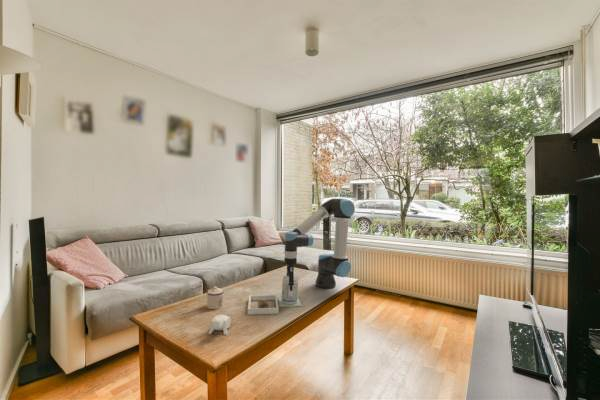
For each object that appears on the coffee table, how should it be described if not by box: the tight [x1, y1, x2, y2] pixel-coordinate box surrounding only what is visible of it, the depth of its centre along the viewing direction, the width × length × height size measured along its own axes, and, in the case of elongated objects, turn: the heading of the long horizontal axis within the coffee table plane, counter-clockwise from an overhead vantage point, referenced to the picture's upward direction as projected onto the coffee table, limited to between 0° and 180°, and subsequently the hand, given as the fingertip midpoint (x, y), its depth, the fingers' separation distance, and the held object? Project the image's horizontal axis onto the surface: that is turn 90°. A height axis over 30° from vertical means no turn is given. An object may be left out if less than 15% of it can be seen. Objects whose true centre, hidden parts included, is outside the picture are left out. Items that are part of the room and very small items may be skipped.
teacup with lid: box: [206, 285, 224, 310], centre depth 161 cm, size 12×9×12 cm
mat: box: [277, 296, 302, 308], centre depth 169 cm, size 13×13×1 cm
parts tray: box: [247, 294, 280, 316], centre depth 162 cm, size 17×21×3 cm
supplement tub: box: [281, 275, 299, 304], centre depth 169 cm, size 10×10×15 cm
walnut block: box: [257, 300, 270, 308], centre depth 156 cm, size 5×5×5 cm
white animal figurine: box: [208, 314, 232, 336], centre depth 131 cm, size 9×8×15 cm
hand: (289, 291), depth 169 cm, fingers open, 13 cm apart
